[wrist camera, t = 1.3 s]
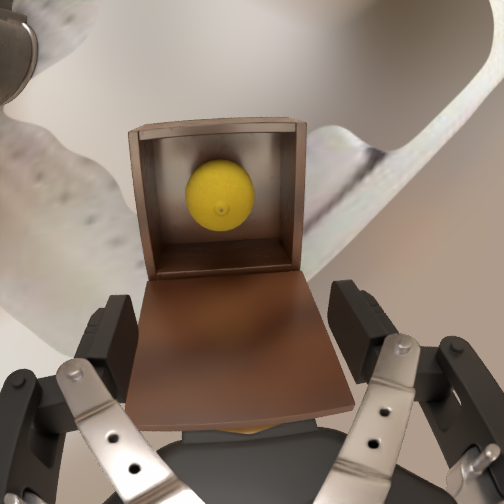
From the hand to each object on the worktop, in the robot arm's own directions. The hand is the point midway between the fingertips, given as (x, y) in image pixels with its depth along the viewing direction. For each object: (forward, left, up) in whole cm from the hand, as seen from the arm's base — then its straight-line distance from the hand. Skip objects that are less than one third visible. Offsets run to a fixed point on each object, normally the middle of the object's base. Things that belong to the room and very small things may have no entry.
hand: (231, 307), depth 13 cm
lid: (+7, 0, -6) cm, 9 cm away
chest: (0, 0, -20) cm, 20 cm away
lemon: (0, 0, -19) cm, 19 cm away
